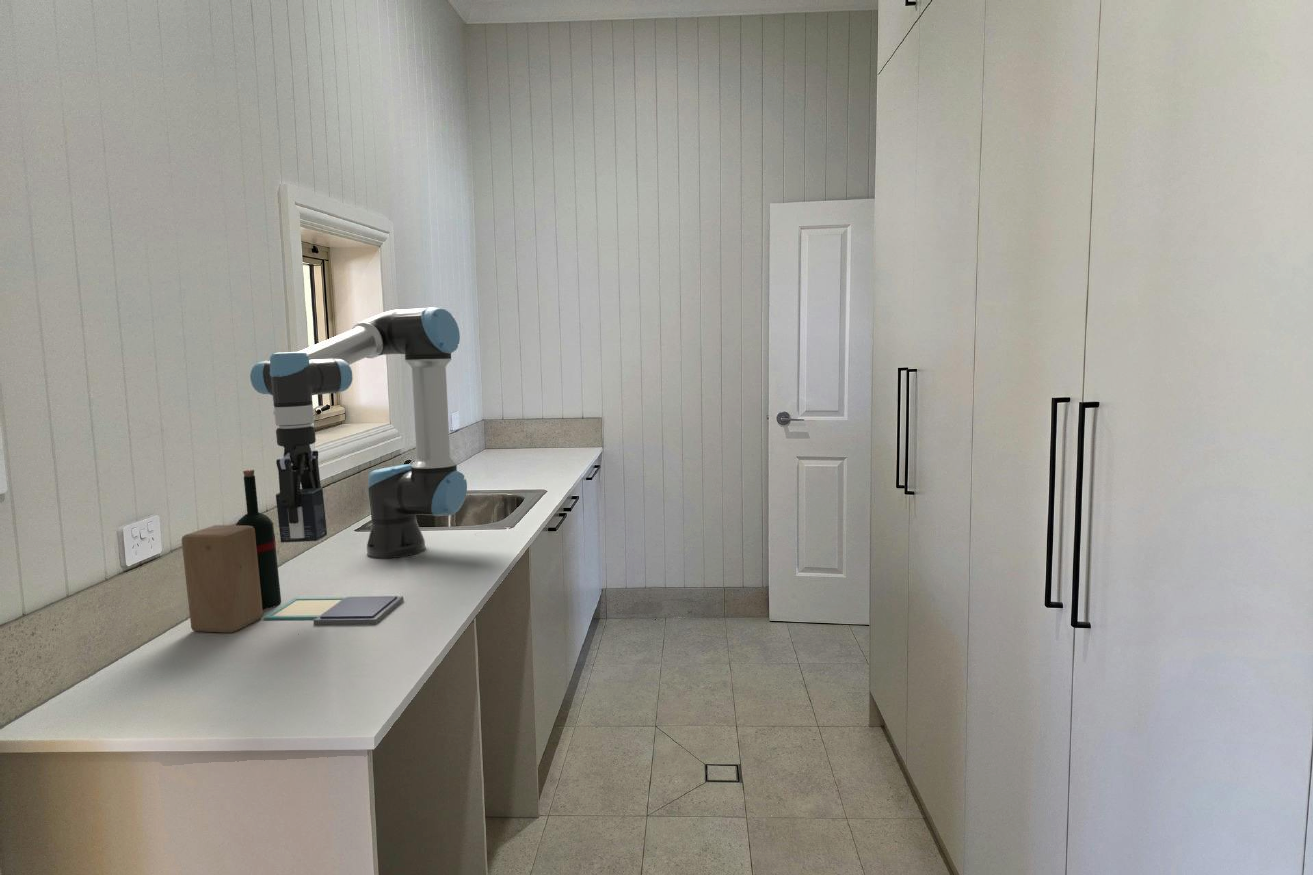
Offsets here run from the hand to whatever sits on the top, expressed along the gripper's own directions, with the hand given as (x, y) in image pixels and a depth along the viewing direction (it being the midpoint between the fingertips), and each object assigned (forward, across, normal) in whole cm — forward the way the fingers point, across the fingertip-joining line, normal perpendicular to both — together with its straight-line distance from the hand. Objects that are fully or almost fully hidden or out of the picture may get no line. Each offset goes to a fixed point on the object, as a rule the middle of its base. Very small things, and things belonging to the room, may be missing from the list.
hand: (305, 533), depth 181 cm
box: (+1, 0, 0) cm, 1 cm away
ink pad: (+17, +3, +12) cm, 21 cm away
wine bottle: (+17, -4, -13) cm, 22 cm away
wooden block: (+17, +10, -13) cm, 23 cm away
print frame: (+17, 0, 0) cm, 17 cm away
